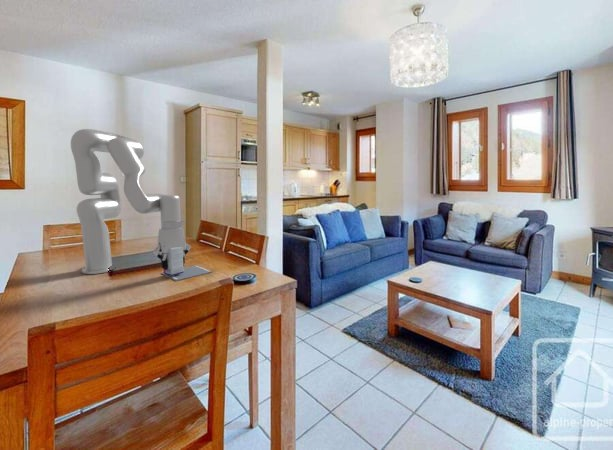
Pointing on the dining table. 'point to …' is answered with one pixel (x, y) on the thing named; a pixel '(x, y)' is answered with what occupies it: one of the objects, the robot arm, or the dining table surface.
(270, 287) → the dining table surface
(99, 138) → the robot arm
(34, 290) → the dining table surface
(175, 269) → the supplement box
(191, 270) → the mat
